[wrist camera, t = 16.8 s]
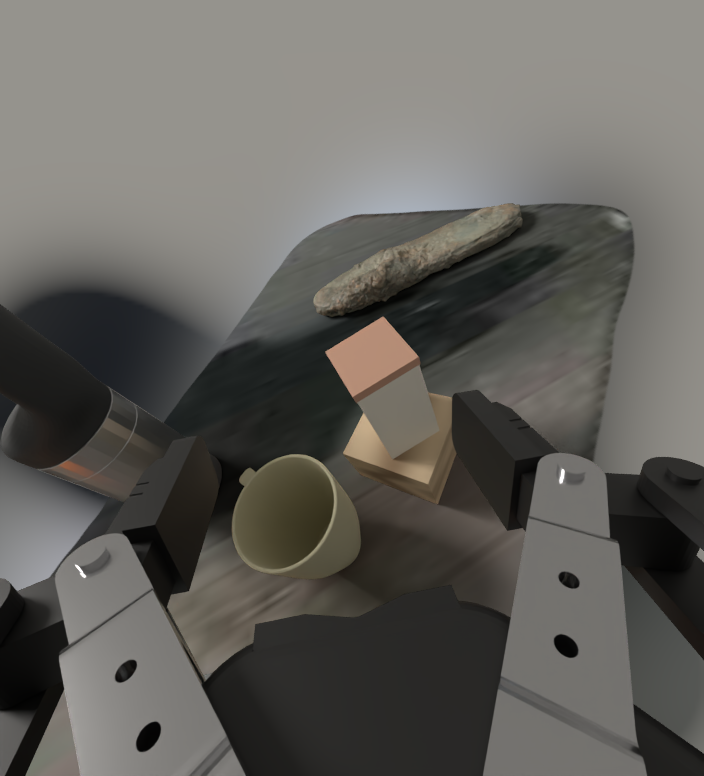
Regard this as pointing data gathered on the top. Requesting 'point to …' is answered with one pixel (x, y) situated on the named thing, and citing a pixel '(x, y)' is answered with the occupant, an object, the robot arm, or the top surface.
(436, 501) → the oak block
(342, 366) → the canister
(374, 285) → the long grey stone
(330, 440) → the top surface
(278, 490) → the mug
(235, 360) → the top surface
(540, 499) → the robot arm
